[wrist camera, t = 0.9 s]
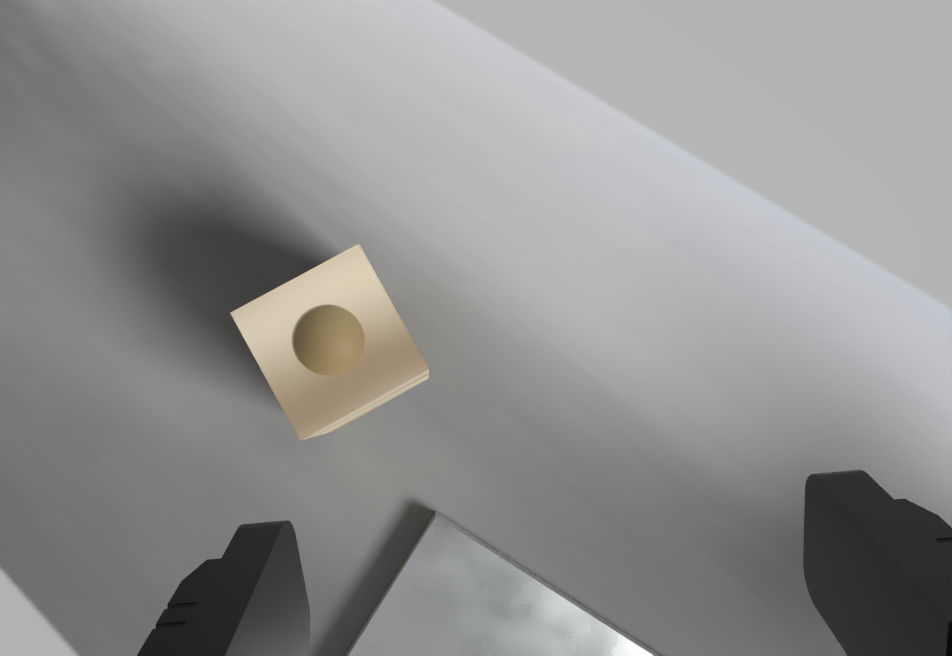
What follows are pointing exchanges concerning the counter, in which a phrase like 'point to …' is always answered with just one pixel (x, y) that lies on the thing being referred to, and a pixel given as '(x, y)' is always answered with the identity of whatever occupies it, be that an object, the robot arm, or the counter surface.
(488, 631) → the press
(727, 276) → the counter surface
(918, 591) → the robot arm
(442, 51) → the counter surface
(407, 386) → the block
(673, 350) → the counter surface
